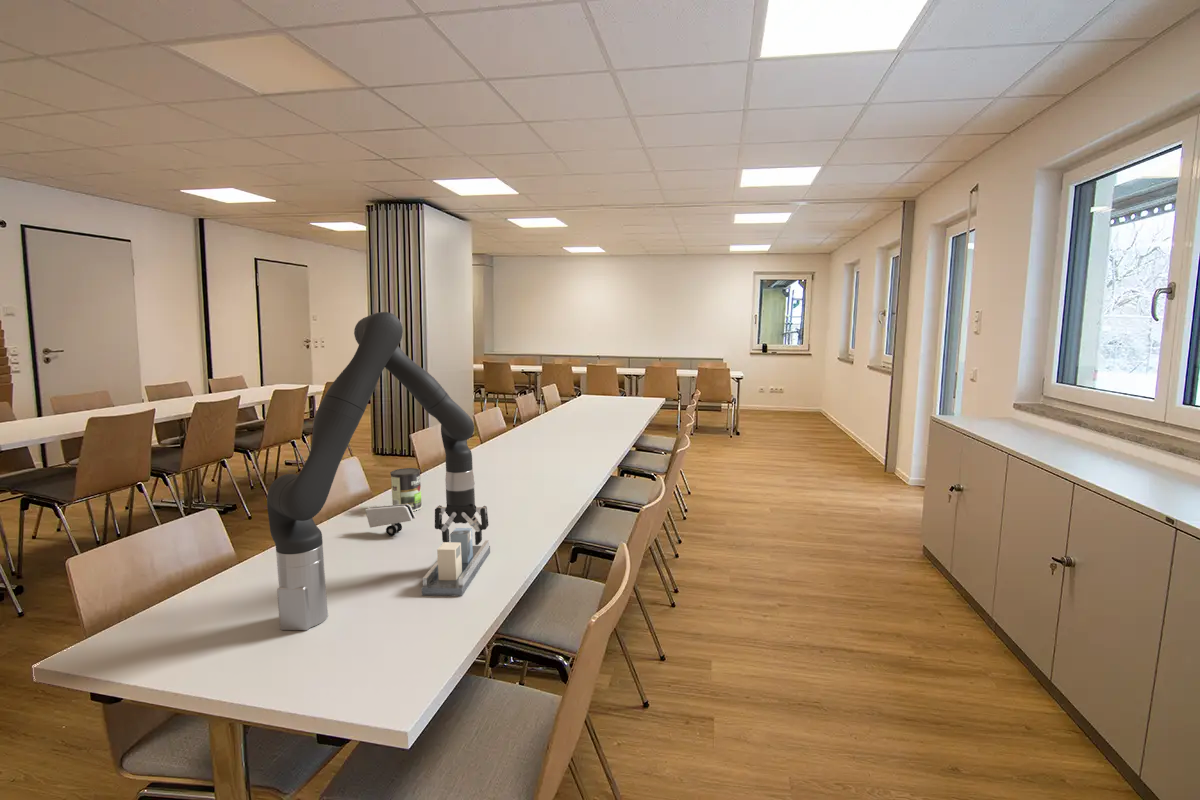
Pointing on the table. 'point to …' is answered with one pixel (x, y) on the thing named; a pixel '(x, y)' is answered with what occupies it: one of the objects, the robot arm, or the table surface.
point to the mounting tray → (459, 586)
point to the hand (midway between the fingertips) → (462, 543)
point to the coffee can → (406, 487)
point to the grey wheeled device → (390, 516)
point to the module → (463, 542)
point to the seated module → (449, 561)
